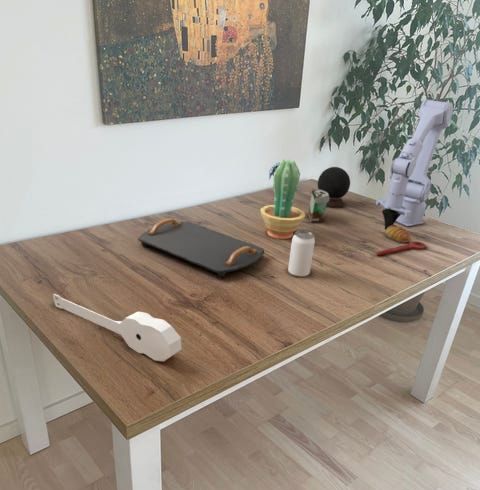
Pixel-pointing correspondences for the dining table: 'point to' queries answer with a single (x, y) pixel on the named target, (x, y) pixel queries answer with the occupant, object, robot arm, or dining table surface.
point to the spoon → (403, 248)
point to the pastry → (397, 233)
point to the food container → (317, 205)
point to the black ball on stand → (334, 185)
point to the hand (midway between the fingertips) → (387, 229)
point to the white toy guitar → (134, 330)
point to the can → (301, 253)
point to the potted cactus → (283, 201)
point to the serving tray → (201, 246)
